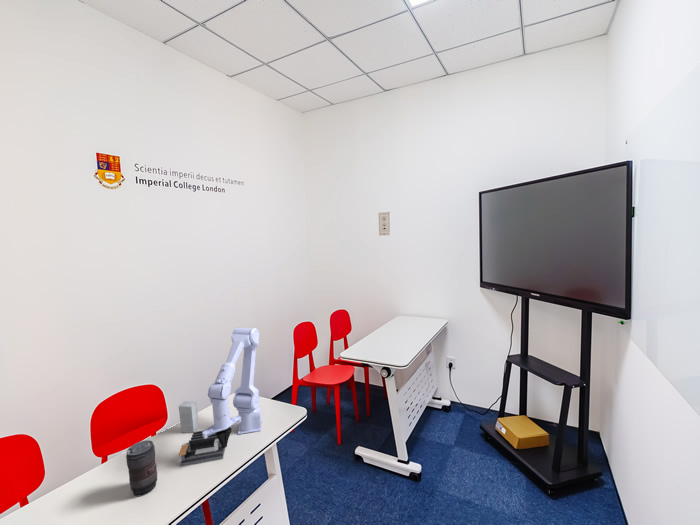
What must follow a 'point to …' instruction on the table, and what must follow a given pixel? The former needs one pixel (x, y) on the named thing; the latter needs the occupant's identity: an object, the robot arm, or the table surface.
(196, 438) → the heatsink
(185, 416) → the skincare box
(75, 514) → the table surface
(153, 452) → the camera lens
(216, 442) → the clip
